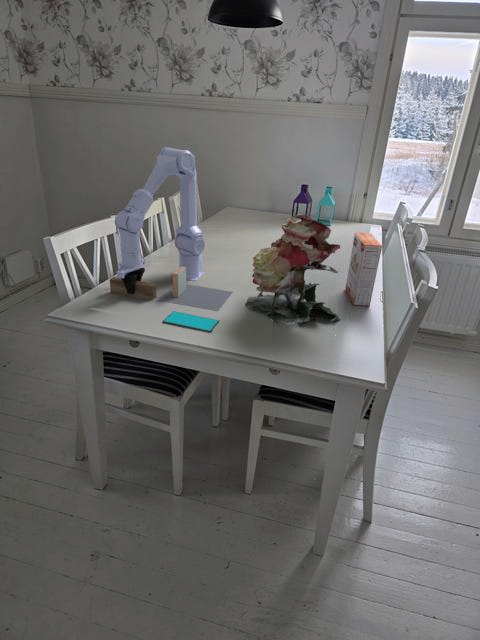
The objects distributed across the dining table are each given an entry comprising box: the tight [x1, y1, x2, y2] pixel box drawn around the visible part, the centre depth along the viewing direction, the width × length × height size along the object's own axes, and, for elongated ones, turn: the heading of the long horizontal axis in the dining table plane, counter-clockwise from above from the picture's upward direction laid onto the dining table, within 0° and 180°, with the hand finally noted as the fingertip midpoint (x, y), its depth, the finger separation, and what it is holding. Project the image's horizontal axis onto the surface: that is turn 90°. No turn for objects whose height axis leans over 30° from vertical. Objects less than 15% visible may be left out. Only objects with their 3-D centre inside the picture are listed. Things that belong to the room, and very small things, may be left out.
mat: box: [157, 283, 234, 312], centre depth 138 cm, size 16×20×1 cm
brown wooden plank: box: [109, 276, 157, 301], centre depth 135 cm, size 2×15×5 cm, turn 74°
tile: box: [172, 266, 187, 297], centre depth 137 cm, size 7×2×8 cm, turn 164°
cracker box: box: [344, 232, 383, 307], centre depth 141 cm, size 14×6×21 cm, turn 178°
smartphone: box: [162, 311, 221, 333], centre depth 122 cm, size 7×1×15 cm
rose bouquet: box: [245, 213, 341, 328], centre depth 127 cm, size 26×29×30 cm
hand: (133, 291), depth 136 cm, fingers closed on brown wooden plank, 2 cm apart
